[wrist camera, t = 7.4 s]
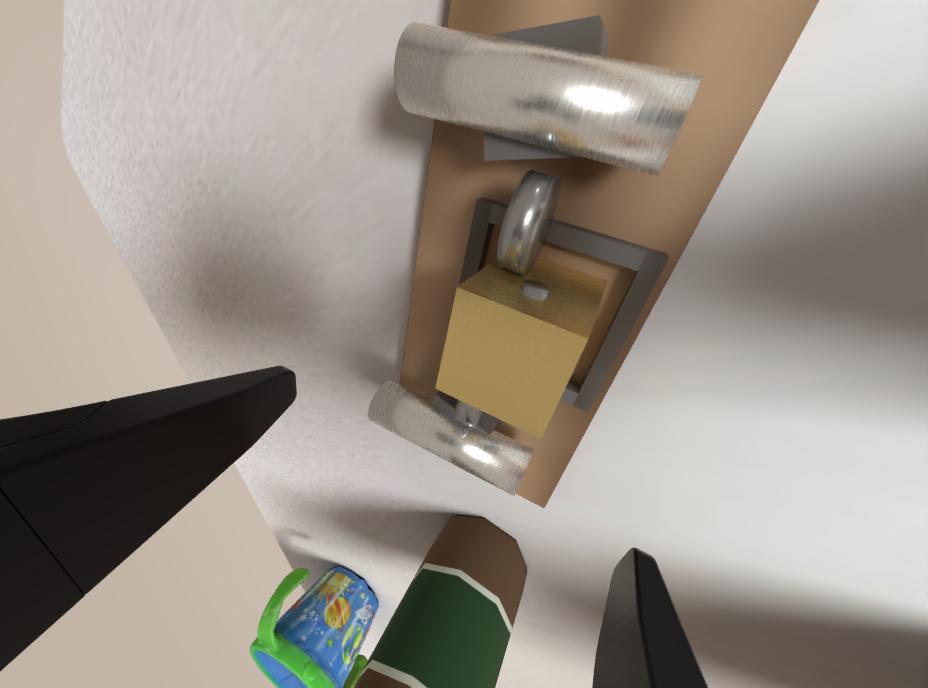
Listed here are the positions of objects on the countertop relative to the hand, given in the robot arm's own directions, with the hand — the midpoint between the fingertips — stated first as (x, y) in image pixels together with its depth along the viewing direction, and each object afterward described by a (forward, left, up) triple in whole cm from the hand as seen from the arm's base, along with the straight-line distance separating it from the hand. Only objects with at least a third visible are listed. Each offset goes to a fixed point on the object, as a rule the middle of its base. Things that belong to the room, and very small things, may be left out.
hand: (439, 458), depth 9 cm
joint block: (0, 0, -11) cm, 11 cm away
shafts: (+2, 0, -10) cm, 10 cm away
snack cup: (+10, +43, -12) cm, 46 cm away
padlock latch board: (+1, 0, -12) cm, 12 cm away
